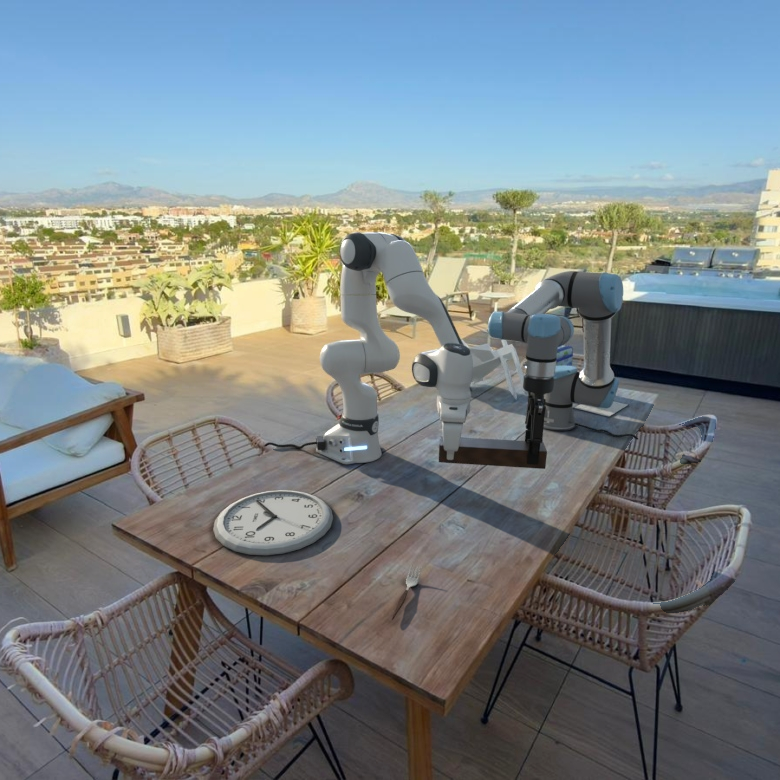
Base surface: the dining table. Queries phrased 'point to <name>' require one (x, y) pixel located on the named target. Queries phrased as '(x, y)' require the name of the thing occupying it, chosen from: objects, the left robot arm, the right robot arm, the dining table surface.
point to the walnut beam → (493, 453)
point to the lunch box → (564, 356)
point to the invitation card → (602, 411)
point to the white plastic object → (495, 362)
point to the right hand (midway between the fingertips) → (530, 457)
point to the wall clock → (273, 522)
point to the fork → (410, 583)
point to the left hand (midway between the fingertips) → (450, 452)
